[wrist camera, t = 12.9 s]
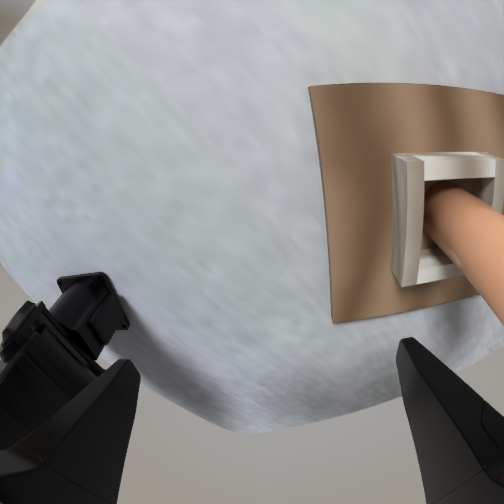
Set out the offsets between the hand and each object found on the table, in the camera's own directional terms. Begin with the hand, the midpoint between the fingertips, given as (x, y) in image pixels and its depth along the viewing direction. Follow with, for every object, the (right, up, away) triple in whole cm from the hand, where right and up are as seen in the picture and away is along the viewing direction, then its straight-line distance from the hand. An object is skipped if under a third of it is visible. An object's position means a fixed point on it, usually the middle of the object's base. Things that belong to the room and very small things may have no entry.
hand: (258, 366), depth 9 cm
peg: (+14, +7, +9) cm, 18 cm away
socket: (+14, +7, +10) cm, 18 cm away
